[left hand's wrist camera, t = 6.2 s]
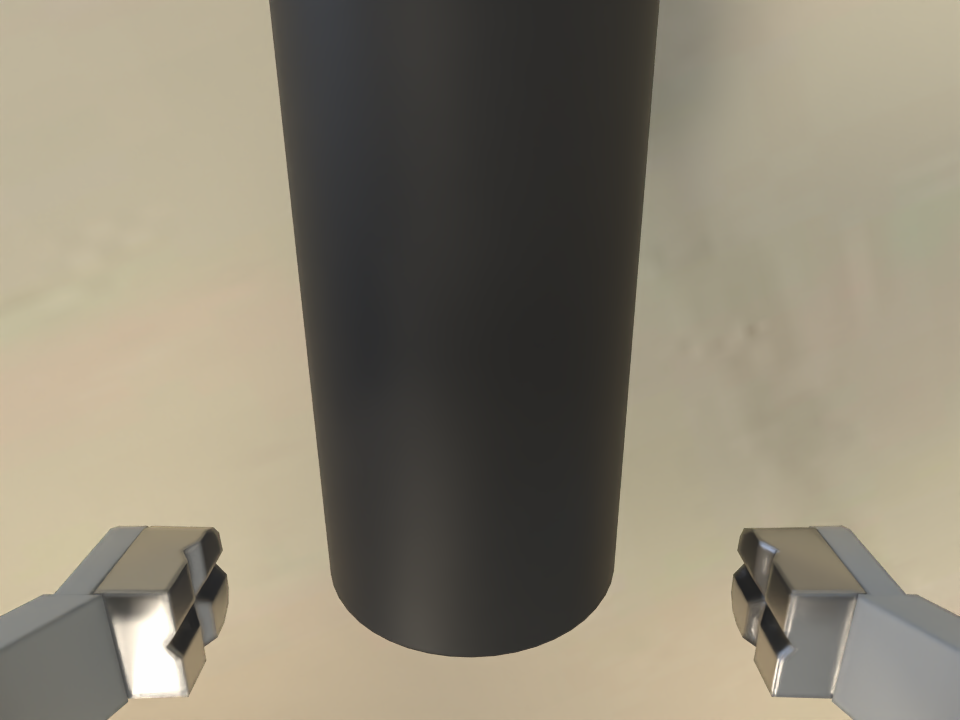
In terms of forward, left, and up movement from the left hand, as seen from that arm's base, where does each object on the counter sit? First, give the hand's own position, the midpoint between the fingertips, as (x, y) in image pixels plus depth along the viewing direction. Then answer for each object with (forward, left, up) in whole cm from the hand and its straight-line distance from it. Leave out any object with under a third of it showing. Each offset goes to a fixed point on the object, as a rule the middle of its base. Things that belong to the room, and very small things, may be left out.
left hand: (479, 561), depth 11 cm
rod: (+9, 0, -7) cm, 11 cm away
